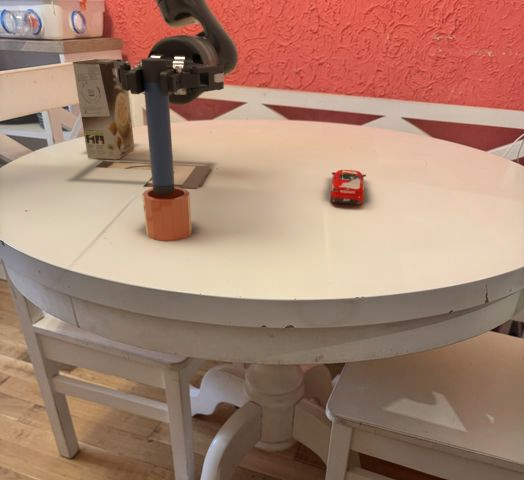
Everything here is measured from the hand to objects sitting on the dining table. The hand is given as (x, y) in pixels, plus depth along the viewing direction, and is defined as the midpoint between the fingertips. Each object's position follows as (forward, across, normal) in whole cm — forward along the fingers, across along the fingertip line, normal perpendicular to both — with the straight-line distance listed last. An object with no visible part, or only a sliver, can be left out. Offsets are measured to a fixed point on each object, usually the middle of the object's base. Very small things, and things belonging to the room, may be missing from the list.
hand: (148, 83), depth 52 cm
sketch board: (-29, -10, +18) cm, 35 cm away
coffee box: (-44, -21, +18) cm, 52 cm away
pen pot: (-3, 0, +18) cm, 18 cm away
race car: (-24, +24, +18) cm, 38 cm away
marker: (-3, 0, +12) cm, 12 cm away
